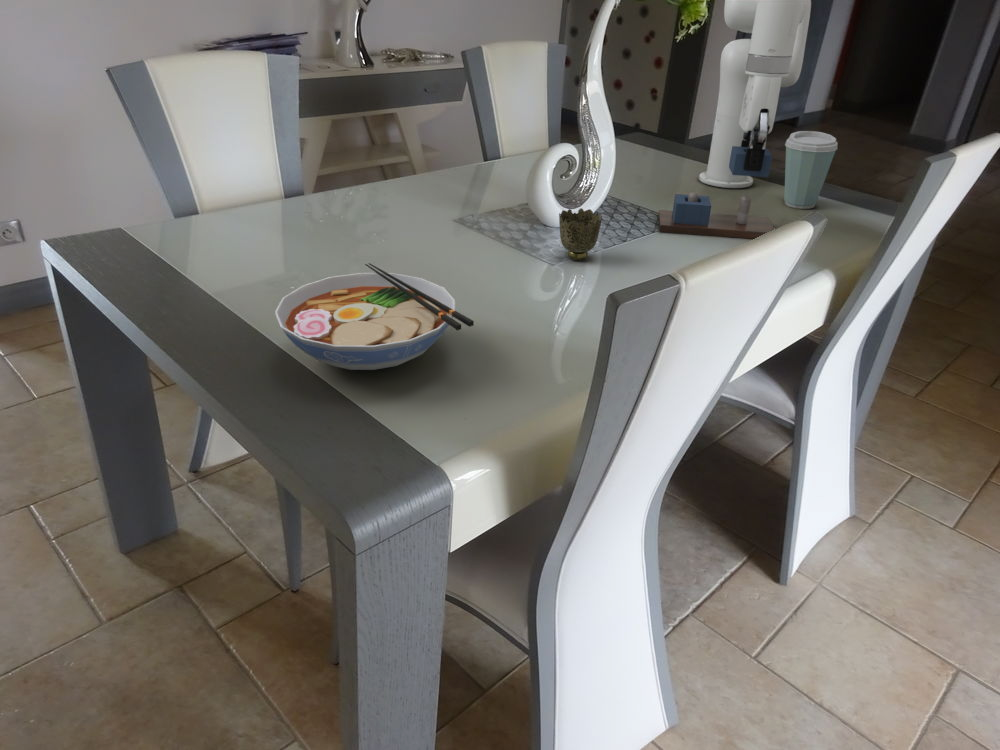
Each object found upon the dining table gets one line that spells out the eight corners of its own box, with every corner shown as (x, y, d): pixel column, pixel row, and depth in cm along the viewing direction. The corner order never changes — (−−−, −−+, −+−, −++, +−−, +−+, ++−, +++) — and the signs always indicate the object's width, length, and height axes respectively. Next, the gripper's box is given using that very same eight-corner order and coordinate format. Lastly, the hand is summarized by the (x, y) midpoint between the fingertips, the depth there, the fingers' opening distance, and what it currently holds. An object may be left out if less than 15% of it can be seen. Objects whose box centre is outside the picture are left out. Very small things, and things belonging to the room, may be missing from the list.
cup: (561, 266, 129) (564, 221, 125) (552, 251, 135) (554, 208, 131) (603, 265, 130) (607, 220, 126) (592, 250, 136) (595, 207, 132)
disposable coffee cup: (828, 213, 159) (846, 142, 152) (776, 210, 161) (791, 139, 153) (818, 200, 168) (834, 131, 161) (769, 196, 170) (783, 128, 162)
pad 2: (728, 166, 147) (732, 146, 145) (763, 169, 146) (767, 148, 144) (732, 175, 141) (736, 153, 139) (768, 177, 140) (772, 155, 138)
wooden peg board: (658, 216, 155) (662, 183, 151) (767, 224, 152) (774, 190, 148) (659, 232, 146) (664, 197, 142) (775, 240, 143) (783, 205, 140)
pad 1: (672, 213, 152) (675, 193, 150) (705, 215, 151) (708, 196, 149) (673, 223, 146) (676, 203, 144) (708, 225, 145) (711, 205, 143)
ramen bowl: (253, 341, 101) (244, 285, 97) (401, 304, 113) (399, 253, 109) (329, 426, 84) (322, 362, 80) (495, 372, 96) (496, 314, 92)
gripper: (740, 59, 142) (724, 154, 151) (753, 70, 127) (734, 175, 136) (781, 61, 141) (762, 157, 150) (798, 72, 126) (777, 178, 135)
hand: (749, 165), depth 143 cm, fingers closed on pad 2, 6 cm apart
